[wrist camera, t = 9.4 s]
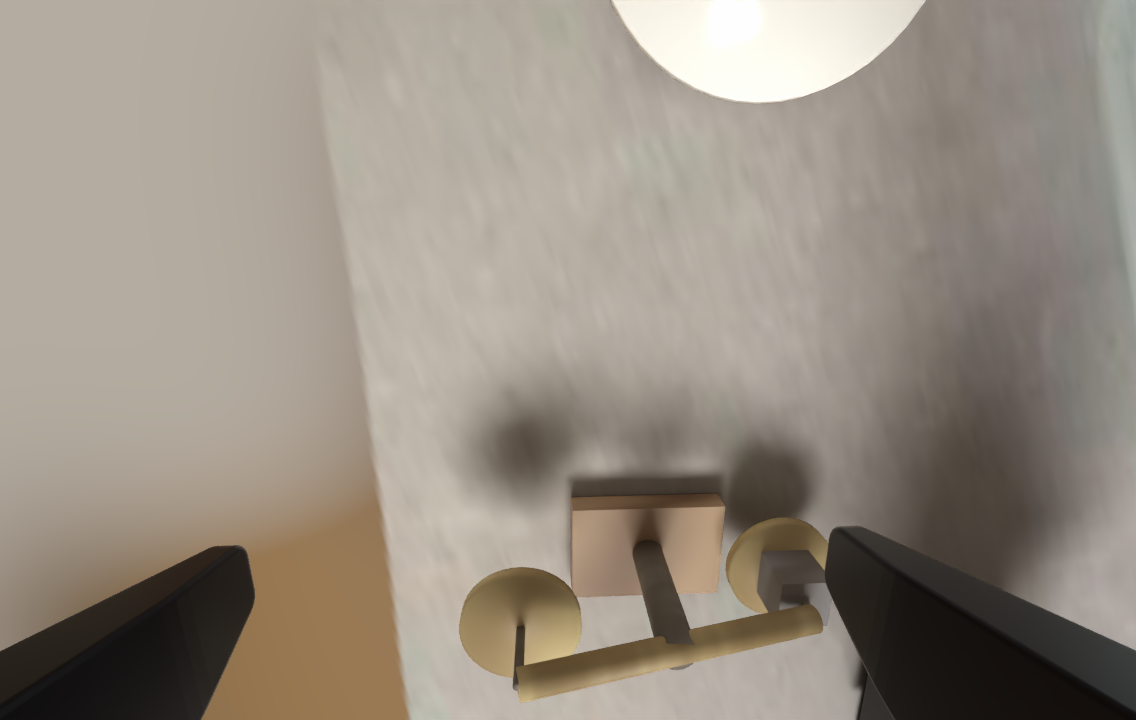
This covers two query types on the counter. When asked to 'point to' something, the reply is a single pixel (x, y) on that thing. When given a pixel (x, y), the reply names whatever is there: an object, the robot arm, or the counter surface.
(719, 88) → the dish
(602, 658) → the balance
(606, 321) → the counter surface
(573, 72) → the counter surface
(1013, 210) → the counter surface
